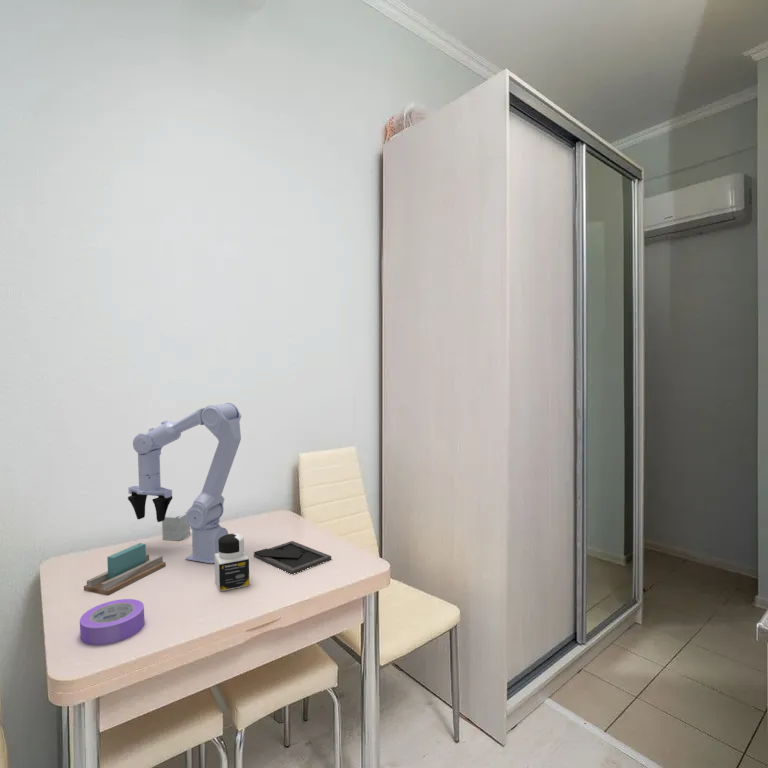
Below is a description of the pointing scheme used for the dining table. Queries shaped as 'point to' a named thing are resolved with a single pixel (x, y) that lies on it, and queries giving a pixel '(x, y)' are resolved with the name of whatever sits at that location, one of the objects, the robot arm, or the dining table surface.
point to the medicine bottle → (231, 563)
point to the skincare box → (175, 526)
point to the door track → (123, 577)
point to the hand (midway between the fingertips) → (150, 519)
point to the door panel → (126, 560)
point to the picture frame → (291, 557)
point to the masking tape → (112, 622)
